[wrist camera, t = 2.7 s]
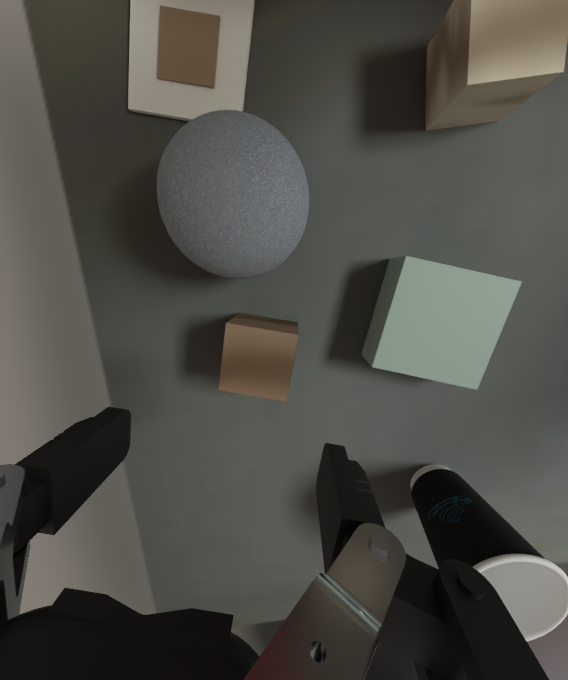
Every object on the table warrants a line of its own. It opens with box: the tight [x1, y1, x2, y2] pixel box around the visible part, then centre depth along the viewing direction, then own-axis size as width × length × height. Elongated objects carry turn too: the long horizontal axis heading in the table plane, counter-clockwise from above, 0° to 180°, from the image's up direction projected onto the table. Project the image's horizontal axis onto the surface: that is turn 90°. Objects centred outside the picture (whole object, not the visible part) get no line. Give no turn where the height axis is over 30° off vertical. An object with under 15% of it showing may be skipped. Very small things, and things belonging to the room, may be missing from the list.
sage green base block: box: [361, 256, 522, 390], centre depth 24 cm, size 9×9×4 cm
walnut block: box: [218, 313, 299, 402], centre depth 24 cm, size 6×6×6 cm
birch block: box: [425, 0, 568, 131], centre depth 18 cm, size 6×6×6 cm
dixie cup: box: [410, 464, 568, 642], centre depth 24 cm, size 8×8×11 cm
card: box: [128, 0, 255, 121], centre depth 21 cm, size 9×9×1 cm
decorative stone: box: [157, 110, 309, 279], centre depth 19 cm, size 10×10×10 cm
